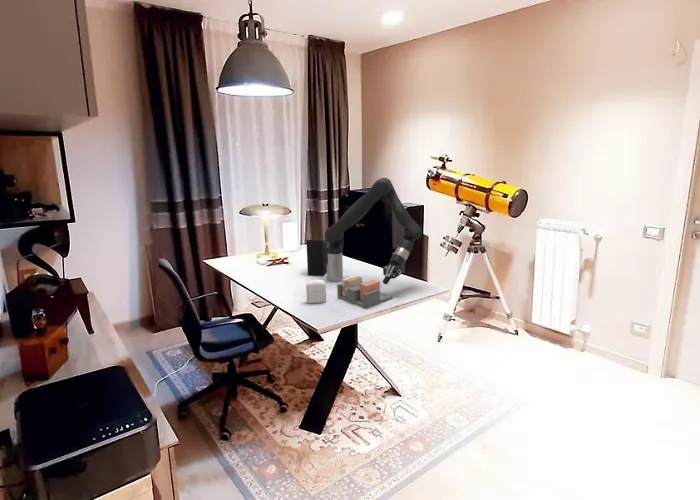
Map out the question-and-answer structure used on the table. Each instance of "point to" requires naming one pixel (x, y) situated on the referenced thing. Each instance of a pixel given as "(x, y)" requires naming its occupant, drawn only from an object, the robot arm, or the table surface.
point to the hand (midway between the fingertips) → (384, 283)
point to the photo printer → (316, 291)
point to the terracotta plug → (368, 287)
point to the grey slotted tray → (368, 298)
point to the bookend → (317, 257)
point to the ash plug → (350, 283)
